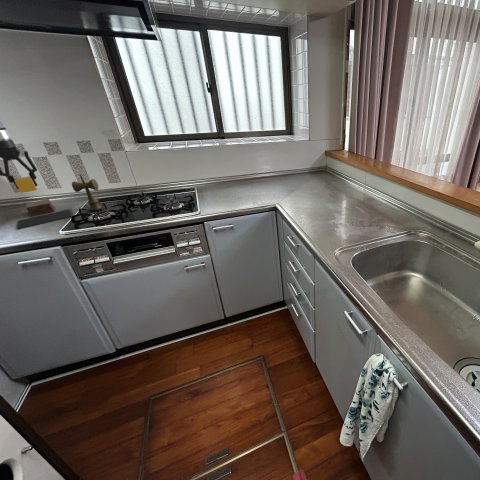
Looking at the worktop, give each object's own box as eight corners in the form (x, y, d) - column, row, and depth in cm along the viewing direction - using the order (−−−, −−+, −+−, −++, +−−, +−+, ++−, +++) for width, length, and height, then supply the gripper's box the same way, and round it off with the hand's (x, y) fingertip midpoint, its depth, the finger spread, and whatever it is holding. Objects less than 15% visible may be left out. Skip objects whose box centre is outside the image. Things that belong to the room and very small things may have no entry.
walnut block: (31, 216, 139) (25, 207, 137) (31, 211, 145) (26, 203, 143) (54, 211, 145) (49, 203, 142) (53, 206, 150) (48, 198, 148)
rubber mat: (17, 229, 127) (17, 228, 127) (19, 221, 134) (18, 220, 134) (71, 216, 138) (71, 215, 138) (69, 210, 146) (69, 209, 146)
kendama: (105, 210, 145) (89, 174, 135) (84, 213, 142) (65, 176, 132) (108, 206, 150) (92, 171, 140) (87, 209, 147) (70, 173, 137)
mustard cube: (21, 192, 135) (14, 181, 132) (21, 189, 139) (15, 178, 136) (37, 190, 138) (30, 178, 135) (37, 187, 142) (31, 176, 139)
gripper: (-31, 143, 118) (0, 193, 130) (27, 138, 129) (52, 184, 141) (-29, 141, 123) (2, 189, 135) (28, 136, 134) (51, 181, 146)
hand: (27, 186), depth 138 cm, fingers closed on mustard cube, 6 cm apart
